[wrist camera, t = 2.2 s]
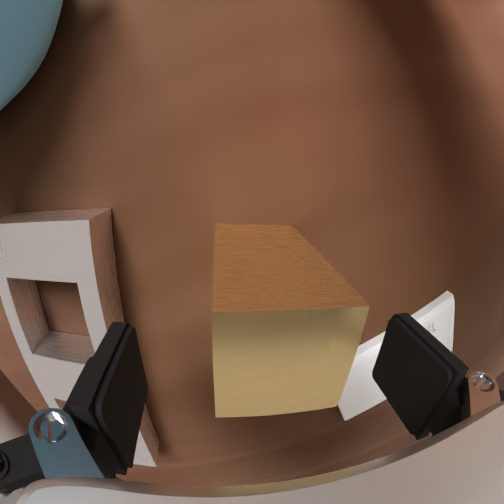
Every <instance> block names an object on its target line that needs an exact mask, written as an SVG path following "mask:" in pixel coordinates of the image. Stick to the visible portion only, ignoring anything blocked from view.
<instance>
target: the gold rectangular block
mask: <svg viewBox="0 0 504 504" xmlns="http://www.w3.org/2000/svg"><path fill="white" fill-rule="evenodd" d="M369 307H370V305H369V304H368V303H367V302H366V301H365V300H364V299H363V298H362V297H361V296H360V295H359V294H358V293H357V292H356V291H355V290H354V288H353V287H352V286H351V285H350V284H349V283H348V282H347V281H346V280H345V279H344V278H343V277H342V276H341V275H340V274H339V273H338V272H337V271H336V270H335V269H334V268H333V267H332V266H331V265H330V264H329V263H328V262H327V261H326V260H325V258H324V257H323V256H322V255H321V254H320V253H319V252H318V251H317V250H316V249H315V248H314V247H313V246H312V245H311V244H310V243H309V242H308V241H307V240H306V239H305V238H304V237H303V236H301V235H300V234H299V233H298V232H297V231H296V230H295V229H294V228H293V227H292V226H291V225H259V224H215V234H214V254H213V279H212V350H213V376H214V396H215V414H216V417H249V416H265V415H277V414H287V413H296V412H304V411H311V410H318V409H324V408H330V407H336V406H337V405H338V402H339V400H340V397H341V394H342V392H343V389H344V386H345V384H346V381H347V378H348V375H349V373H350V370H351V367H352V364H353V361H354V358H355V355H356V352H357V349H358V345H359V342H360V339H361V336H362V332H363V329H364V325H365V322H366V318H367V315H368V311H369Z"/></svg>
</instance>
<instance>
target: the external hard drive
mask: <svg viewBox="0 0 504 504" xmlns="http://www.w3.org/2000/svg"><path fill="white" fill-rule="evenodd" d="M454 310H455V300H454V296H453V294H452V293H450V292H449V291H446V292H445V293H443V294H442V295H440V296H439V297H437V298H436V299H435V300H433V301H432V302H430V303H429V304H427V305H426V306H424V307H423V308H421V309H420V310H418V311H417V312H415V313H414V314H412V315H411V316H412V317H413V318H414V319H415V320H416V321H417V322H419V323H420V324H421V325H422V326H423V327H424V328H425V329H427V330H428V331H429V332H430V333H431V334H432V335H433V336H434V337H436V338H437V339H438V340H439V341H440V342H441V343H442V344H443V345H444V346H445V347H447V348H448V349H449V350H450V351H451V352H452V349H453V333H454ZM385 332H386V331H384V332H383V333H381V334H379V335H377V336H376V337H374V338H372V339H370V340H369V341H367V342H365V343H363V344H361V345H359V346H358V349H357V352H356V355H355V358H354V361H353V364H352V367H351V370H350V373H349V375H348V378H347V381H346V384H345V386H344V389H343V392H342V394H341V397H340V400H339V402H338V407H339V409H340V412H341V414H342V416H343V418H344V421H346V420H348V419H350V418H352V417H354V416H356V415H358V414H360V413H362V412H364V411H366V410H368V409H370V408H372V407H373V406H375V405H377V404H379V403H381V402H382V401H384V400H386V399H387V398H386V397H385V395H384V394H383V392H382V391H381V390H380V388H379V387H378V385H377V384H376V382H375V381H374V379H373V377H372V371H373V368H374V365H375V362H376V359H377V356H378V354H379V351H380V348H381V344H382V341H383V338H384V335H385Z"/></svg>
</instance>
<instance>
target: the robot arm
mask: <svg viewBox="0 0 504 504" xmlns="http://www.w3.org/2000/svg"><path fill="white" fill-rule="evenodd" d="M468 369H469V368H468V367H467V366H466V365H465V364H464V363H463V362H462V361H461V360H460V359H458V358H457V357H456V356H455V355H454V354H453V353H452V352H451V351H450V350H449V349H448V348H447V347H445V346H444V345H443V344H442V343H441V342H440V341H439V340H438V339H437V338H436V337H434V336H433V335H432V334H431V333H430V332H429V331H428V330H427V329H425V328H424V327H423V326H422V325H421V324H420V323H419V322H417V321H416V320H415V319H414V318H413V317H412V316H410V315H409V314H408V313H401V314H395V315H393V316H392V318H391V319H390V320H389V322H388V325H387V329H386V332H385V335H384V338H383V341H382V344H381V348H380V351H379V354H378V356H377V359H376V362H375V365H374V368H373V371H372V377H373V379H374V381H375V382H376V384H377V385H378V387H379V388H380V390H381V391H382V392H383V394H384V395H385V397H386V398H387V400H388V401H389V403H390V404H391V406H392V407H393V409H394V410H395V412H396V413H397V415H398V416H399V417H400V419H401V420H402V422H403V423H404V425H405V426H406V428H407V429H408V431H409V432H410V434H412V435H414V436H415V437H416V439H417V440H419V439H421V438H424V437H426V436H428V434H429V433H430V431H431V433H432V434H433V435H432V437H430V438H428V439H426V440H424V441H421V442H419V443H417V444H415V445H412V446H410V447H408V448H405V449H402V450H400V451H397V452H395V453H392V454H389V455H387V456H384V457H381V458H378V459H375V460H372V461H369V462H366V463H363V464H359V465H356V466H353V467H349V468H345V469H342V470H338V471H334V472H329V473H325V474H321V475H316V476H311V477H306V478H300V479H294V480H288V481H281V482H273V483H265V484H254V485H241V486H175V485H161V484H151V483H142V482H132V481H124V480H116V479H115V476H116V473H117V474H122V475H126V473H127V467H128V468H132V466H133V462H134V456H135V451H136V445H137V440H138V435H139V430H140V425H141V420H142V415H143V410H144V406H145V401H146V397H147V390H148V389H147V382H146V378H145V373H144V369H143V365H142V360H141V355H140V350H139V345H138V340H137V335H136V330H135V328H134V327H131V326H130V324H129V323H127V322H112V323H111V325H110V327H109V329H108V330H107V332H106V334H105V336H104V338H103V339H102V341H101V343H100V345H99V347H98V348H97V350H96V352H95V354H94V356H92V357H90V358H89V359H88V360H87V362H86V364H85V366H84V368H83V370H82V372H81V373H80V375H79V377H78V379H77V381H76V383H75V385H74V387H73V389H72V391H71V393H70V395H69V397H68V399H67V401H66V403H65V406H64V408H63V410H60V409H58V408H48V409H43V410H41V411H39V412H38V413H36V414H35V415H34V416H33V417H32V419H31V421H30V424H29V434H26V435H24V436H21V437H18V438H15V439H12V440H10V441H7V442H4V443H1V444H0V504H504V391H502V390H499V389H498V384H497V382H496V380H495V379H494V377H493V376H491V375H490V374H488V373H487V372H484V371H478V370H477V371H473V372H471V373H470V374H469V376H468V378H466V377H465V375H466V373H467V371H468Z"/></svg>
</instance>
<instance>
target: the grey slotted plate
mask: <svg viewBox="0 0 504 504" xmlns="http://www.w3.org/2000/svg"><path fill="white" fill-rule="evenodd" d="M35 280H42V281H56V282H71V283H77V284H78V289H79V294H80V299H81V303H82V307H83V312H84V316H85V319H86V323H87V327H88V331H89V334H90V336H85V335H78V334H70V333H63V332H57V331H51V330H49V327H48V324H47V321H46V318H45V314H44V311H43V308H42V304H41V300H40V297H39V293H38V289H37V285H36V281H35ZM0 296H1V299H2V303H3V306H4V309H5V312H6V315H7V318H8V321H9V323H10V326H11V329H12V331H13V334H14V337H15V339H16V342H17V344H18V346H19V349H20V351H21V353H22V356H23V358H24V360H25V362H26V364H27V366H28V368H29V371H30V373H31V375H32V377H33V379H34V380H35V382H36V384H37V386H38V388H39V390H40V392H41V394H42V395H43V397H44V399H45V401H46V402H47V404H48V406H49V407H50V408H58V409H60V410H63V408H64V406H65V403H66V401H67V399H68V397H69V395H70V393H71V391H72V389H73V387H74V385H75V383H76V381H77V379H78V377H79V375H80V373H81V372H82V370H83V368H84V366H85V364H86V362H87V360H88V359H89V358H90V357H92V356H94V354H95V352H96V350H97V348H98V347H99V345H100V343H101V341H102V339H103V338H104V336H105V334H106V332H107V330H108V329H109V327H110V325H111V323H112V322H125V319H124V314H123V308H122V303H121V297H120V290H119V284H118V277H117V269H116V261H115V252H114V242H113V230H112V216H111V208H95V209H72V210H54V211H38V212H25V213H13V214H10V215H8V216H5V217H3V218H0ZM158 449H159V440H158V438H157V435H156V432H155V430H154V427H153V424H152V421H151V418H150V415H149V412H148V409H147V406H146V403H145V406H144V410H143V415H142V420H141V425H140V430H139V435H138V440H137V445H136V451H135V456H134V462H133V464H139V465H146V466H154V467H157V458H158Z"/></svg>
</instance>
